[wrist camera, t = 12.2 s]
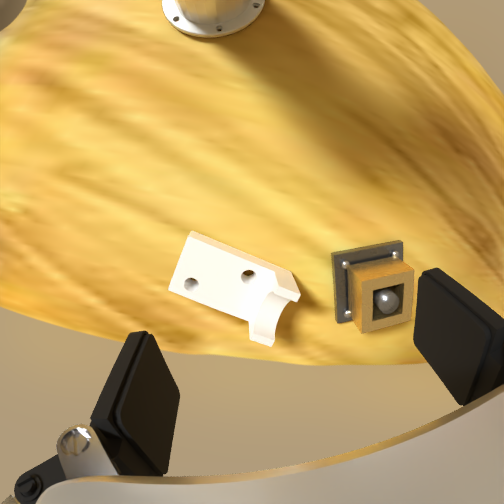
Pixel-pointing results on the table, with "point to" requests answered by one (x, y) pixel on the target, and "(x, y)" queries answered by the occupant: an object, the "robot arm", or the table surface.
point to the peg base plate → (341, 259)
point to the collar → (376, 277)
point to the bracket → (234, 284)
